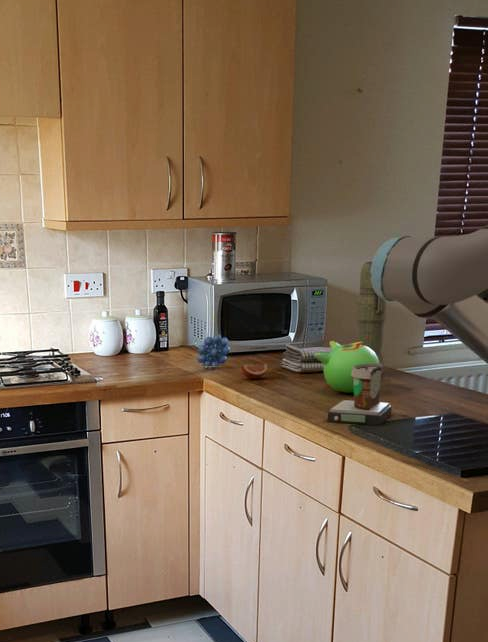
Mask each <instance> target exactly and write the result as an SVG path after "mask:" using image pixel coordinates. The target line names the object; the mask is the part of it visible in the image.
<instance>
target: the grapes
mask: <svg viewBox="0 0 488 642" xmlns="http://www.w3.org/2000/svg"><path fill="white" fill-rule="evenodd" d="M228 344H229V339H228V338H227V337H222V336H221V334H220V333H216V334H214V335H213V336H212V337H211V336H206V337H205V338H204V341H203V344H201V345H199V346H198V348H197V352H198V354H199V355H198V356H197V359H196V360H197V363H199V364H201V365H202V368H203V369H204V370H208V369H210V368H211V370H217V369H218V368H219V366H220V365H223V364H225V363H226V362H227V360H228V358H227V355H228V354H230V352H231V347H230V346H229V345H228ZM203 366H210V367H207V368H205V367H203ZM211 366H218V367H211Z"/></svg>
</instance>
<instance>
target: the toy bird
mask: <svg viewBox="0 0 488 642" xmlns="http://www.w3.org/2000/svg"><path fill="white" fill-rule="evenodd" d="M362 343H363V342H357V341H356V342H352V343H345V344H342V345H341V344H339V343H338V342H336V341H334V340H331V341H329V348H331V350H332V351H331V352H330V353H316V354H315V355H314V356H315V357H316V358H317V359H318V360H320V361H321V362H323V363H324V369H323V370H324V371H323V376H324V379H325V381H326V383H327V384H328V385H329V386H330V387H331V388H332V389H333V390H336V391H337V392H340V393H345V394H354V377H352V376H351V373H352V369H353V368H354V366H355V365H359V364H370V363H379V360H378V357H377V355H376V354H375V352H374V351H373V350H372V349H370V348H369V347H367V346H364V345H361V344H362Z"/></svg>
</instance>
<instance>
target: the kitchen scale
mask: <svg viewBox="0 0 488 642" xmlns="http://www.w3.org/2000/svg"><path fill="white" fill-rule="evenodd" d="M392 408H393V406H392V405H390V402H381V401H379V404H378V405H376V406H375V407H374V408H373V409H371V410H361V409H357V408H355V407H354V400H347V399H346V400H345V399H344V400H341V401H340V402H339V403H338V404H336V405H334V406H333V407H331V408H330V410H329V411H327V422H328V423H338V424H351V425H352V424H353V425H367V426H380V425H382V424H383V423H385V421H386V420H387V419H389V417H391V416H392Z"/></svg>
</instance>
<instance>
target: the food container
mask: <svg viewBox="0 0 488 642" xmlns="http://www.w3.org/2000/svg"><path fill="white" fill-rule="evenodd" d="M381 373H382V374H383V368H382V364H381V363H370V364H359V365H355V366H354V368H353V369H352V373H351V376H352V377H354V393H353V399H354V400H353V401H354V407H355V408H357V409H361V410H371V409H373V408H374V407H375V406H376V405H378V404H379V402H380V397H381V387H382V386H381V384H382V377H381Z"/></svg>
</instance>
